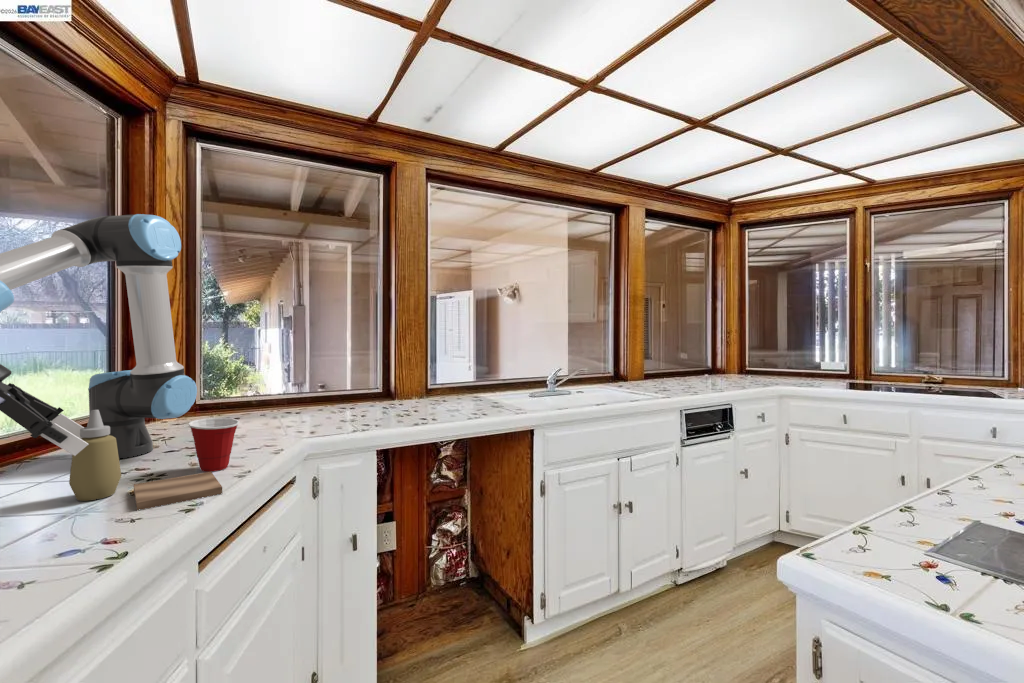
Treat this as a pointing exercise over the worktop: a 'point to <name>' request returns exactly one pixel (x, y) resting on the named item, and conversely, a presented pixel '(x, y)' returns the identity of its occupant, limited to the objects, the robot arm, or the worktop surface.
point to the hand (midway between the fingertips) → (83, 443)
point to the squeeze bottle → (95, 462)
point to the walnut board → (176, 490)
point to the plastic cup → (213, 441)
